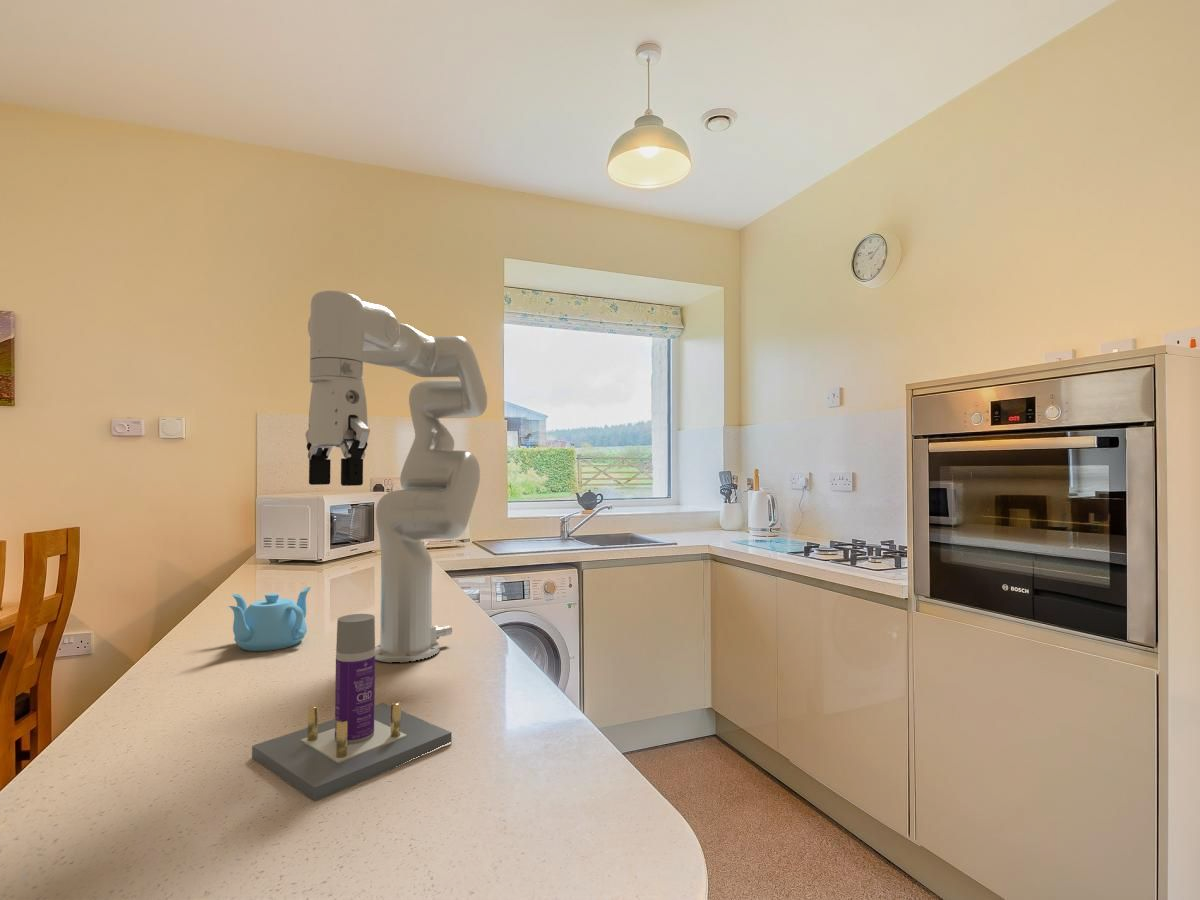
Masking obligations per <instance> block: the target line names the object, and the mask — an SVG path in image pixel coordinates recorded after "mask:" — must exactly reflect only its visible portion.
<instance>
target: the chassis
mask: <svg viewBox="0 0 1200 900" xmlns="http://www.w3.org/2000/svg"><path fill="white" fill-rule="evenodd" d="M449 742H451V743H452V731H450V730H447V729H445V728H442V727H440V726H438V725H436V724H433V723H430V722H428V721H426V720H424V719H422V718H419V717H417V716H414V715H412V714H410V713H407V712H406V711H403V710H401V727H400V736H399V737H391V705H390V704H387V703H385V702H382V703H379V704H375V705H374V735H373V737H372V738H370V739H369V740H367V741H364V742H361V743H357V744H347V756H346V757H343V758H337V757H336V741H335V718H333V719H329V720H328V721H327V720H326V721H323V722H320V723H318V739H317V740H314V741H308V740H307V727H305V728H302V729H300V730H296V731H294V732H290V733H287V734H283V735H279V736H278V737H274V738H271V739H268V740H266V741H263V742H259V743H256V744H254V745H252V746H251V749H252V750H251V759H253V760H254V761H255V762H257V763H258V764H260V765H261V766H263V767H264V768H265V769H267V770H268V771H270V772H271V773H272V774H274V775H275V776H277V777H278V778H280V780H281V779H282V780H283V781H284V782H286V783H287V784H288V785H290V786H291V787H293V788H294V789H296V790H297V791H298V792H300V793H301V794H303V795H304V796H306V797H307V798H308V799H310V800H311V801H312V802H314V803H315V802H317V801H319V800H322V799H325V798H327V797H330V796H332V795H335V794H336V793H338V792H341V791H343V790H346V789H348V788H350V787H354V786H355V785H358V784H360V783H362V782H365V781H368V780H369V778H370V779H372V778H374V777H376V775H377V776H379V775H382V774H383V773H382V772H384V771H386V772H388V771H387V770H389V769H391V770H392V768H393V769H395V768H394V767H396V766H398V767H400V766H402V765H401V764H403V763H405V762H407V761H409V760H411V759H413V758H416V757H418V756H421V755H422V754H425V753H427V752H430V751H432V750H434V749H436V748H438V747H440V746H442V745H445V744H447V743H449ZM405 764H406V763H405ZM399 765H400V766H399ZM403 765H404V764H403ZM396 768H397V767H396ZM389 771H390V770H389ZM381 773H382V774H381ZM384 773H385V772H384Z"/></svg>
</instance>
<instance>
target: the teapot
mask: <svg viewBox="0 0 1200 900" xmlns="http://www.w3.org/2000/svg"><path fill="white" fill-rule="evenodd" d="M311 588H312V587H311V586H308V587H305V588H304V589H302V590H301V591H300V593H299V594H298V598H297V600H296V602H297V603H296V602H295V601H294V600H293V599H291V598H279V597H280V593H266V594H265V595H264V598H265V599H262V600H261V599H260V600H257V601H254V602H252V603H250V604H249V605H248V606H247V602H246V600H245V599H244V596H242V595H240V594H237V593H232V594H231V596H232V597H233V598H234V600H235V601H236V606H235V605H228V608H230V609H231V610H232V611H233V615H234V616H233V623H232V624H233V626H232V632H233V634H234V635H233V636H234V639H233V640H234V642H235V643H236V645H237V646H239V648H241V649H242V650H243V651H248V652H266V651H267V652H269V651H277V650H282V649H286V648H290V647H293V646H295V645H297V644H299V643H300V642H301V641H302V640H304V638H305V636H306V634H307V632H308V628H307V621H306V616H307V594H308V593H309V591H310V590H311Z"/></svg>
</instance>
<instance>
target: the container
mask: <svg viewBox="0 0 1200 900" xmlns="http://www.w3.org/2000/svg"><path fill="white" fill-rule="evenodd" d="M375 620H376V617H375V615H374V614H371V613H354V614H353V613H352V614H347V615H342V616H340V617H338V618H337V623H336V626H337V627H336V628H337V629H336V644H335V645H336V650H335V651H336V652H335V682H334V683H335V685H334V686H335V687H334V688H335V690H334V692H335V693H334V697H335V698H334V703H335V704H334V714H335V715H334V719H335V741H336V732H337V721H339V720H347V721H348V724H347V744H357V743H361V742H364V741H367V740H369V739H370V738H372V737H373V735H374V706H376V704H375V703H376V702H375V700H376V699H375V694H376V693H375V692H376V688H375V687H376V686H375V685H376V660H375V646H376V627H375V626H376V625H375V623H376V621H375Z"/></svg>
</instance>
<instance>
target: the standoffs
mask: <svg viewBox="0 0 1200 900" xmlns="http://www.w3.org/2000/svg"><path fill="white" fill-rule="evenodd" d="M390 706H391V737H399V736H400V727H401V711H402V709H401V707H402V703H401V702H400V701H395V702H392V703H390ZM318 724H319V705H317V704H311V705H309V706H308V707H307V725H306V726H307V727H306V728H307V740H308V741H314V740H317V739H318ZM347 724H348V721H347V720H339V721H337V732H336V757H337V758H343V757H346V756H347Z"/></svg>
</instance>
